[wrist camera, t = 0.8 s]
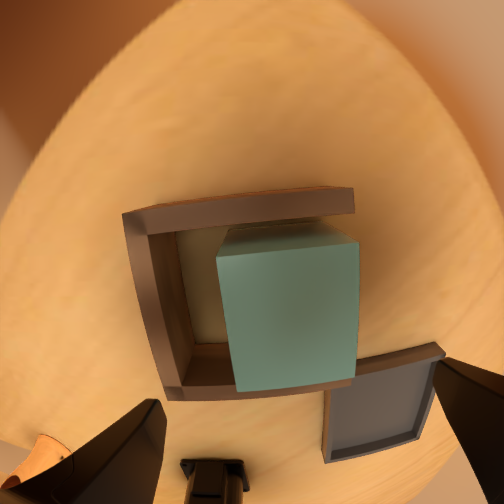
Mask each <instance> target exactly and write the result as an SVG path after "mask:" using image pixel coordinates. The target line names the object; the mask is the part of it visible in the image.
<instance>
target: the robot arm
mask: <svg viewBox="0 0 504 504" xmlns="http://www.w3.org/2000/svg"><path fill="white" fill-rule="evenodd" d="M432 384H433V387H434V389H435V392H436V394H437V396H438V399H439V401H440V403H441V406H442V408H443V411H444V413H445V415H446V418H447V420H448V422H449V424H450V426H451V427H452V429H453V431H454V433H455V435H456V437H457V439H458V441H459V443H460V444H461V446H462V448H463V450H464V452H465V454H466V456H467V458H468V460H469V462H470V464H471V467H472V469H473V471H474V473H475V475H476V477H477V479H478V481H479V484H480V486H481V488H482V490H483V493H484V495H485V497H486V500H487V502H488V504H504V376H503V375H500V374H497V373H494V372H491V371H488V370H485V369H482V368H479V367H476V366H473V365H470V364H467V363H464V362H461V361H458V360H455V359H453V358H450V357H445V358H442V359H439V360H438V361H437V363H436V366H435V370H434V374H433V379H432ZM166 427H167V418H166V415H165V412H164V410H163V407H162V405H161V402H160V401H159V400H158V399H145V400H144V401H142V402H141V403H140V404H139V405H137V406H136V407H135V408H133V409H132V410H131V411H129V412H128V413H127V414H125V415H124V416H123V417H121V418H120V419H119V420H117V421H116V422H115V423H113V424H112V425H111V426H109V427H108V428H107V429H105V430H104V431H103V432H101V433H100V434H99V435H97V436H96V437H94V438H93V439H92V440H90V441H89V442H87V443H86V444H85V445H83V446H82V447H80V448H79V449H78V450H76V451H75V452H73V454H70V455H69V456H67V457H66V458H65V459H63V460H62V461H60V462H58V463H57V464H55V465H54V466H52V467H50V468H49V469H47V470H45V471H43V472H42V473H40V474H38V475H36V476H34V477H32V478H30V479H28V480H26V481H24V482H22V483H20V484H18V485H16V486H13V487H11V488H7V489H0V504H153V500H154V496H155V491H156V487H157V483H158V479H159V474H160V470H161V466H162V461H163V453H164V444H165V436H166ZM180 466H181V468H182V470H183V472H184V474H185V476H186V477H187V479H188V485H187V490H186V496H185V501H184V504H242V503H243V492H248V491H249V490H250V487H249V483H248V479H247V475H246V471H245V467H244V463H243V462H242V461H239V460H235V461H201V460H181V462H180Z"/></svg>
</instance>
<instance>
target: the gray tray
mask: <svg viewBox="0 0 504 504" xmlns="http://www.w3.org/2000/svg"><path fill="white" fill-rule="evenodd" d="M445 355H446V352H445V351H444V350H443V349H442V348H441V347H440V346H439V345H438V344H437V343H436V342H432V343H428V344H425V345H421V346H417V347H413V348H409V349H405V350H401V351H397V352H392V353H388V354H383V355H379V356H374V357H369V358H364V359H359V360H356V369H355V377H353V378H352V381H351V386H346V387H341V388H335V389H329V390H325V401H324V420H323V435H322V448H321V450H322V454H323V458H324V463H325V464H327V463H332V462H338V461H343V460H347V459H352V458H356V457H361V456H365V455H369V454H372V453H376V452H380V451H383V450H387V449H390V448H394V447H397V446H400V445H403V444H406V443H409V442H412V441H415V440H418V439H419V438H420V435H421V433H422V430H423V428H424V425H425V422H426V419H427V417H428V414H429V411H430V408H431V405H432V402H433V399H434V396H435V389H434V387H433V384H432V379H433V374H434V370H435V366H436V363H437V361H438V360H439V359H442V358H445Z"/></svg>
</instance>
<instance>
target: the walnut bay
mask: <svg viewBox="0 0 504 504" xmlns="http://www.w3.org/2000/svg"><path fill="white" fill-rule="evenodd" d="M351 213H355V209H354V193H353V188H345V187H332V186H322V187H308V188H296V189H284V190H273V191H263V192H253V193H243V194H234V195H226V196H217V197H209V198H201V199H194V200H186V201H179V202H172V203H165V204H158V205H153V206H149V207H145V208H141V209H137V210H134V211H130V212H127V213H123V214H122V219H123V225H124V231H125V237H126V243H127V249H128V254H129V259H130V264H131V269H132V274H133V279H134V284H135V288H136V293H137V297H138V301H139V305H140V309H141V313H142V317H143V321H144V325H145V329H146V332H147V336H148V340H149V343H150V347H151V350H152V354H153V357H154V360H155V363H156V367H157V370H158V373H159V376H160V379H161V382H162V385H163V388H164V391H165V394H166V397H167V400H168V401H220V400H241V399H255V398H267V397H277V396H287V395H295V394H303V393H310V392H317V391H323V390H329V389H335V388H341V387H346V386H351V381H352V378H348V379H343V380H337V381H331V382H325V383H319V384H312V385H305V386H298V387H289V388H281V389H271V390H260V391H247V392H237V388H236V383H235V377H234V371H233V366H232V360H231V354H230V348H229V343H216V344H198V345H195V341H194V336H193V331H192V327H191V322H190V317H189V312H188V307H187V302H186V296H185V291H184V286H183V280H182V274H181V269H180V263H179V257H178V250H177V244H176V237H175V231H181V230H190V229H198V228H207V227H216V226H224V225H234V224H243V223H252V222H262V221H272V220H282V219H293V218H304V217H315V216H327V215H339V214H351Z"/></svg>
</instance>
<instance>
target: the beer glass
mask: <svg viewBox="0 0 504 504" xmlns="http://www.w3.org/2000/svg"><path fill="white" fill-rule="evenodd" d="M70 454H72V453H71V452H70V451H69V450H68V449H67V448H66V447H65V446H63V445H62V444H61V443H59V442H58V441H56V440H55V439H53V438H51V437H49V436H46V435H40V436H38V438H37V440H36V443H35V446H34V448H33V450H32V452H31V454H30V455H29V456H28V458H27V459H26V460H25V461H24V462H23V463H22V464H20V465H19V466H18V467H17V468H16V469H15V470H14V471H13V472H12V473H11V474H10V475H9V476H8V477H7V478H6V479H5V481H4V482H3V483H2V485H1V486H0V489H7V488H11V487H13V486H16V485H18V484H20V483H22V482H24V481H26V480H28V479H30V478H32V477H34V476H36V475H38V474H40V473H42V472H43V471H45V470H47V469H49V468H50V467H52V466H54V465H55V464H57V463H58V462H60V461H62V460H63V459H65V458H66V457H67V456H69V455H70Z"/></svg>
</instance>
